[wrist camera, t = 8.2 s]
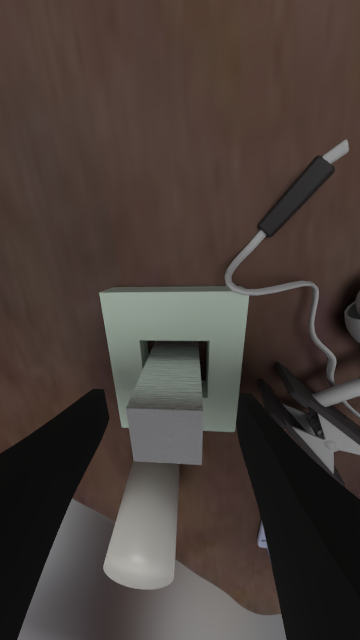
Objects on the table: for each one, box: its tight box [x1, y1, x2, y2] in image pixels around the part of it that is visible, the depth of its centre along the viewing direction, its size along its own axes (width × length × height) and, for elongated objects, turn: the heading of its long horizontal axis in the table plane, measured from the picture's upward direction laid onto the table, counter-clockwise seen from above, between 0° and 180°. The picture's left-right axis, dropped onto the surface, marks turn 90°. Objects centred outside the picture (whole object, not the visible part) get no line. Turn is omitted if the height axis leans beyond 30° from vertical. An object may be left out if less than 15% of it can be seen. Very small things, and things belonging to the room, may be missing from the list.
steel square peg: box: [126, 340, 203, 465], centre depth 11 cm, size 3×3×7 cm
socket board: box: [99, 286, 249, 432], centre depth 14 cm, size 11×9×2 cm
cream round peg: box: [103, 459, 180, 589], centre depth 16 cm, size 5×5×7 cm
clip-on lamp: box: [225, 140, 360, 486], centre depth 11 cm, size 12×6×18 cm
